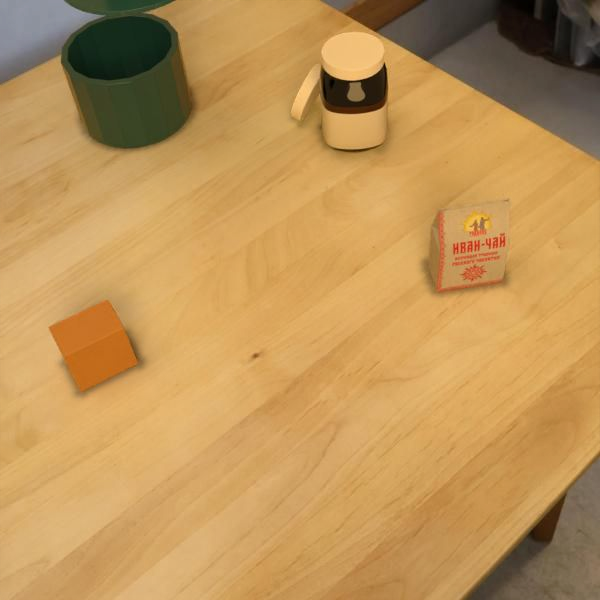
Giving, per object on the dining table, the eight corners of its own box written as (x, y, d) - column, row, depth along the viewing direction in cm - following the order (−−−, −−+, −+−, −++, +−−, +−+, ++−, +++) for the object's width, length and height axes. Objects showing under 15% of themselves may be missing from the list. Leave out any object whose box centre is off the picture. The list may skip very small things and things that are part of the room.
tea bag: (428, 264, 88) (433, 195, 80) (492, 254, 88) (504, 185, 80) (436, 292, 86) (443, 224, 78) (502, 281, 86) (515, 213, 78)
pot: (107, 163, 101) (86, 99, 93) (67, 102, 108) (44, 38, 101) (210, 120, 104) (197, 55, 97) (164, 63, 112) (149, -1, 104)
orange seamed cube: (81, 392, 81) (63, 357, 77) (66, 362, 84) (48, 326, 79) (138, 363, 83) (124, 327, 78) (122, 335, 85) (107, 298, 80)
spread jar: (390, 160, 98) (391, 78, 89) (291, 165, 98) (283, 84, 89) (383, 93, 105) (384, 10, 96) (292, 98, 106) (284, 16, 96)
